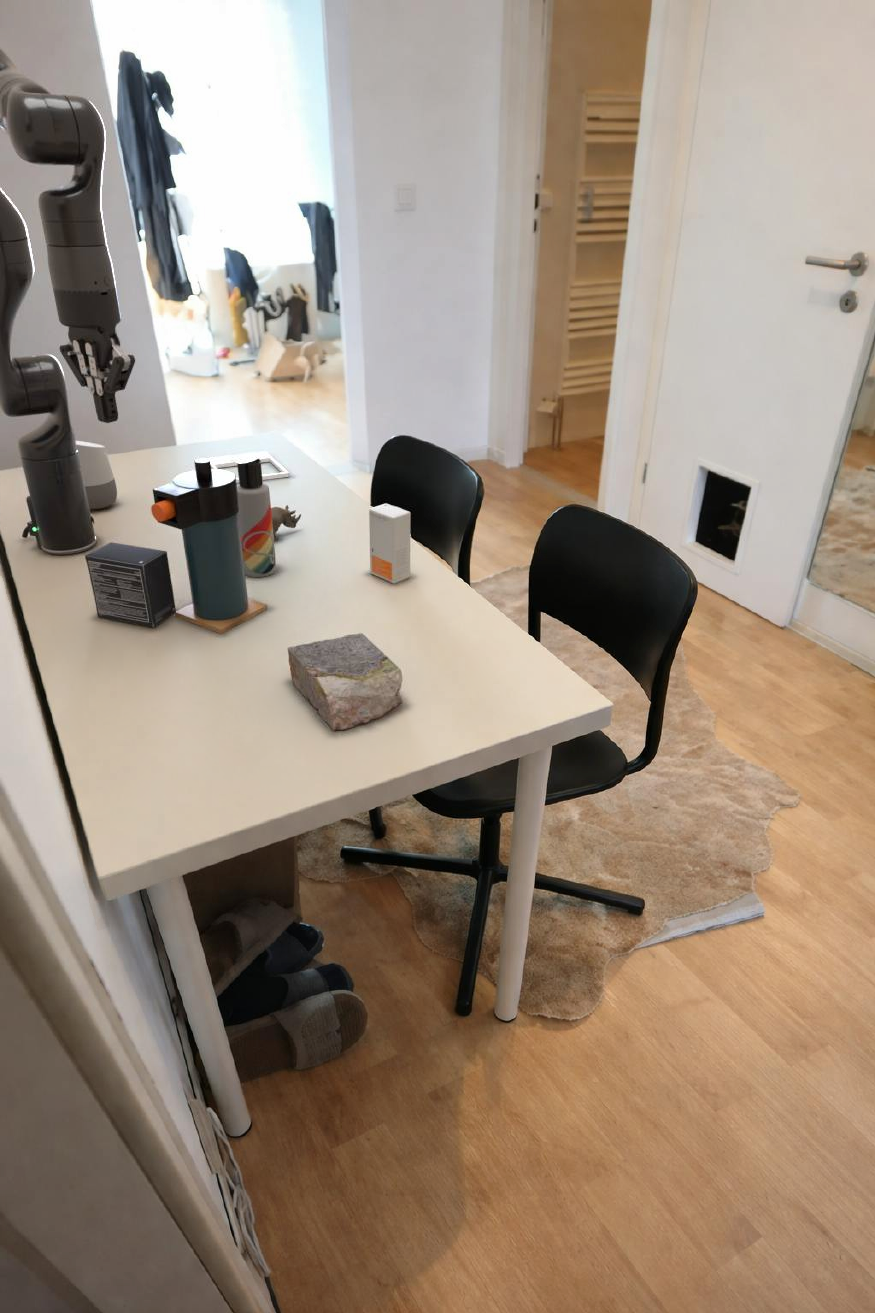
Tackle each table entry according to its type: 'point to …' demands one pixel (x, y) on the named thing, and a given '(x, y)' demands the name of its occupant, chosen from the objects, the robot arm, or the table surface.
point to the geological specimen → (346, 679)
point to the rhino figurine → (283, 519)
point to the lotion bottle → (255, 519)
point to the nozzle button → (163, 510)
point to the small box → (131, 584)
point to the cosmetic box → (389, 542)
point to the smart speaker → (97, 475)
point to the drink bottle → (209, 538)
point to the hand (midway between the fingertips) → (108, 420)
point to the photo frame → (233, 459)
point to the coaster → (221, 625)
